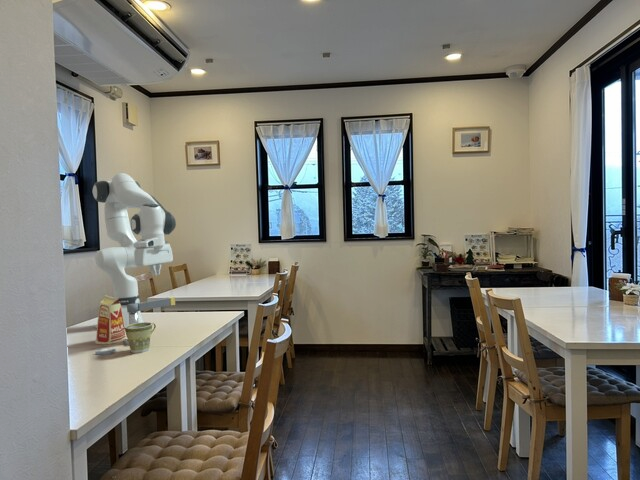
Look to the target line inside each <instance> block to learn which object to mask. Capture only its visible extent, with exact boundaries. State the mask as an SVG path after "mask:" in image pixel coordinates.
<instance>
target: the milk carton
mask: <svg viewBox="0 0 640 480" xmlns="http://www.w3.org/2000/svg"><path fill="white" fill-rule="evenodd" d="M103 296H104V297H103V299H102V300H101V301H100V302H99V307H98V316H97V322H96V323H97V324H96V325H97V328H96V336H95V337H96V338H95V344H98V345H112V344H115V343H119V342H123V340H125V339H127V335H126V332H125V325H124V319H123V313H122V309H121V304H120V302H119V301H118V299H119V298H114V297H113V296H110V295H106V294H104V295H103Z"/></svg>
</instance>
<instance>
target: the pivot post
mask: <svg viewBox="0 0 640 480" xmlns="http://www.w3.org/2000/svg"><path fill="white" fill-rule="evenodd" d="M134 323H139V322H138V312H132V313H129V325H130V324H134ZM122 343H123V344H124V345H125V346H126V347H130V346H129V342H128V338H126V339H124V340H122Z"/></svg>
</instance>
